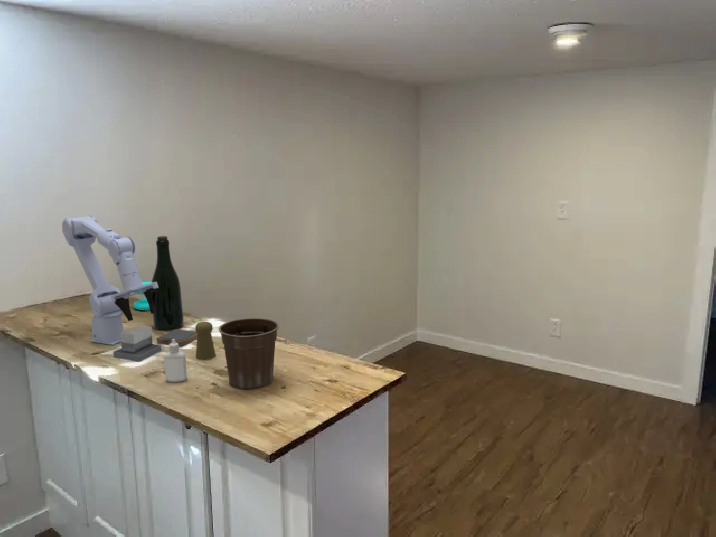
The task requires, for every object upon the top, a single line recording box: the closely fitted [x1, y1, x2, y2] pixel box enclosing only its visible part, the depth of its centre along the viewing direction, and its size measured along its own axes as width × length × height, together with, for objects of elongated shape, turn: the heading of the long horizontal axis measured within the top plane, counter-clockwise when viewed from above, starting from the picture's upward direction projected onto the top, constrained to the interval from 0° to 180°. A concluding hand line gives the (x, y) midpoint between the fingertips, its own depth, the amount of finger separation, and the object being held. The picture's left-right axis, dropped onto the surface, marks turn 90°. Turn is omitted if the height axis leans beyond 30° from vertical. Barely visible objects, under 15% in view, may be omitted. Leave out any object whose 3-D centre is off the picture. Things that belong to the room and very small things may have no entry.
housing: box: [120, 324, 154, 353], centre depth 178 cm, size 5×8×6 cm, turn 159°
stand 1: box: [113, 343, 163, 363], centre depth 178 cm, size 10×10×2 cm
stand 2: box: [156, 328, 197, 348], centre depth 191 cm, size 10×10×2 cm
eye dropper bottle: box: [163, 339, 188, 383], centre depth 158 cm, size 4×6×12 cm
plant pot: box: [218, 317, 280, 390], centre depth 157 cm, size 16×16×16 cm
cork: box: [194, 321, 216, 361], centre depth 176 cm, size 6×6×11 cm
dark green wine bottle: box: [151, 235, 185, 331], centre depth 202 cm, size 10×10×33 cm
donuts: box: [133, 281, 152, 310], centre depth 227 cm, size 10×10×10 cm
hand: (142, 316), depth 177 cm, fingers open, 7 cm apart
